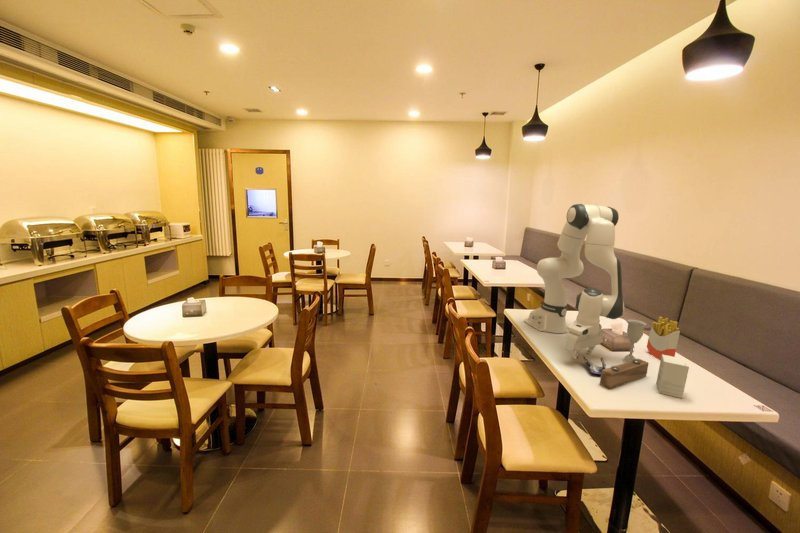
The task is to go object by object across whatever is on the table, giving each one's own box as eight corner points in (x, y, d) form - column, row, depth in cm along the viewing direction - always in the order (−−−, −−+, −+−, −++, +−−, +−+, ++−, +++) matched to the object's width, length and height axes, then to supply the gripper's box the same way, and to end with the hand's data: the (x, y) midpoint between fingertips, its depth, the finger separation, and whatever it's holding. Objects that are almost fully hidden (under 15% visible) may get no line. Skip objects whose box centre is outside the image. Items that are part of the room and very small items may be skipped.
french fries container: (663, 362, 156) (671, 323, 152) (644, 351, 166) (652, 315, 163) (673, 362, 156) (681, 324, 153) (654, 351, 167) (661, 315, 163)
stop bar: (599, 384, 135) (602, 368, 134) (635, 371, 146) (638, 356, 145) (609, 389, 132) (612, 372, 130) (646, 376, 143) (649, 360, 141)
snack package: (612, 369, 148) (582, 361, 154) (615, 356, 146) (584, 348, 152) (611, 386, 139) (578, 376, 144) (614, 373, 136) (580, 363, 142)
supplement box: (679, 389, 134) (686, 358, 131) (682, 399, 127) (689, 366, 125) (655, 383, 137) (661, 353, 135) (657, 392, 131) (664, 361, 128)
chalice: (641, 365, 152) (649, 326, 148) (624, 363, 153) (631, 324, 149) (634, 358, 159) (641, 320, 155) (617, 356, 160) (624, 318, 156)
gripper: (594, 320, 159) (590, 349, 162) (565, 327, 150) (560, 357, 152) (608, 325, 154) (603, 354, 157) (578, 332, 144) (573, 363, 147)
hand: (582, 356), depth 155 cm, fingers open, 8 cm apart
